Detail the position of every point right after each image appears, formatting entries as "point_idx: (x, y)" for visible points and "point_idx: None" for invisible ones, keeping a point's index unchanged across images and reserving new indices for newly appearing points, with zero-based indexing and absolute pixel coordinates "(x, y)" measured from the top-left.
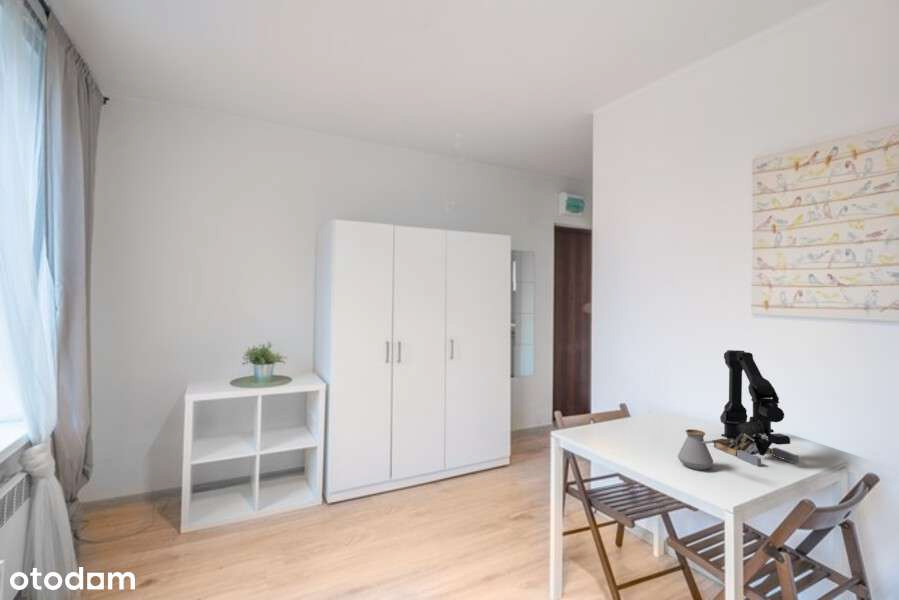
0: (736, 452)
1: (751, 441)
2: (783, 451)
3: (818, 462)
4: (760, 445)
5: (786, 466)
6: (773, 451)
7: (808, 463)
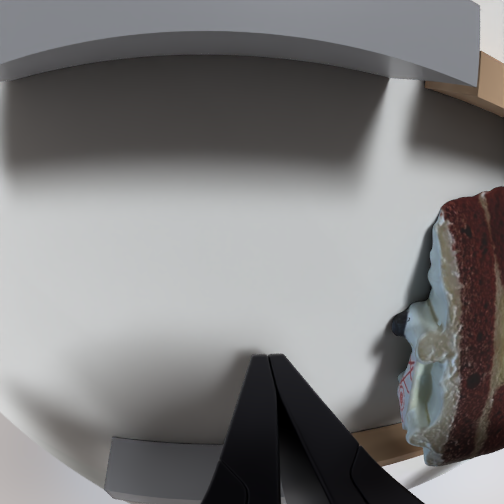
0: None
1: (465, 444)
2: None
3: None
4: (265, 495)
5: (39, 358)
6: None
7: None
